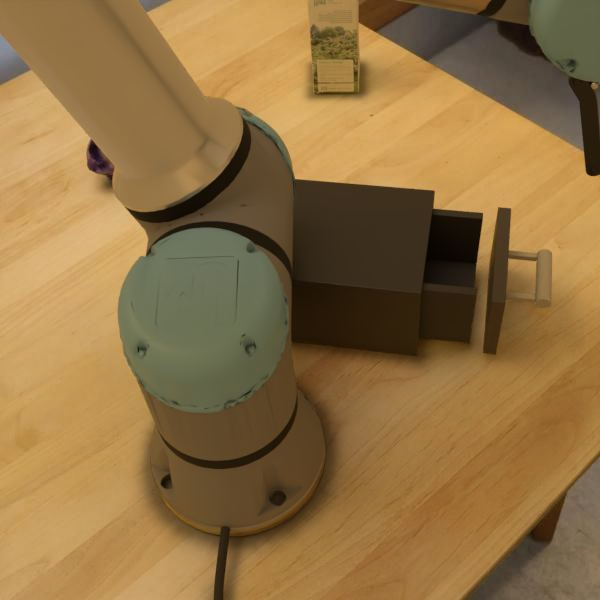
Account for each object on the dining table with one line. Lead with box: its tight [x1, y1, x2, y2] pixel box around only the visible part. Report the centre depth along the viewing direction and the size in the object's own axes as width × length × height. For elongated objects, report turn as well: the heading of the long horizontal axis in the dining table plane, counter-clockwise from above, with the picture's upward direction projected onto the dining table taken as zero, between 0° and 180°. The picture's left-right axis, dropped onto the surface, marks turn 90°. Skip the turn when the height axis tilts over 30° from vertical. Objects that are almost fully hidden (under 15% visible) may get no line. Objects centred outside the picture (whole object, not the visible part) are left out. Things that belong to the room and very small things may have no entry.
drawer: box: [419, 206, 553, 356], centre depth 80 cm, size 18×11×8 cm, turn 79°
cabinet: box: [291, 178, 436, 357], centre depth 82 cm, size 15×13×10 cm
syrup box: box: [306, 0, 361, 94], centre depth 102 cm, size 6×6×14 cm
